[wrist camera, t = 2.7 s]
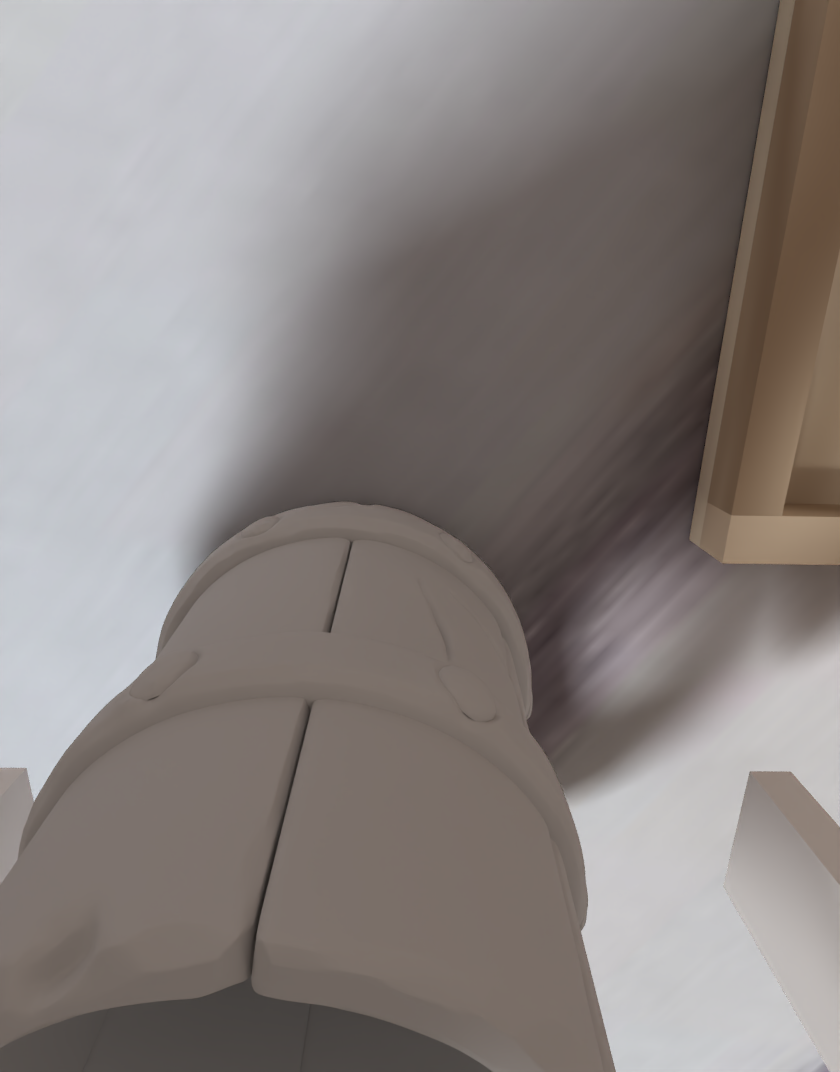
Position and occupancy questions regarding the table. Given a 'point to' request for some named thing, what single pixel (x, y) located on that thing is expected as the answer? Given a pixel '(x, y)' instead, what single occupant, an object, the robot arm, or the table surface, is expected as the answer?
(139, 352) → the table surface
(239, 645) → the mug
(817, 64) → the square serving tray
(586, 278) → the table surface
